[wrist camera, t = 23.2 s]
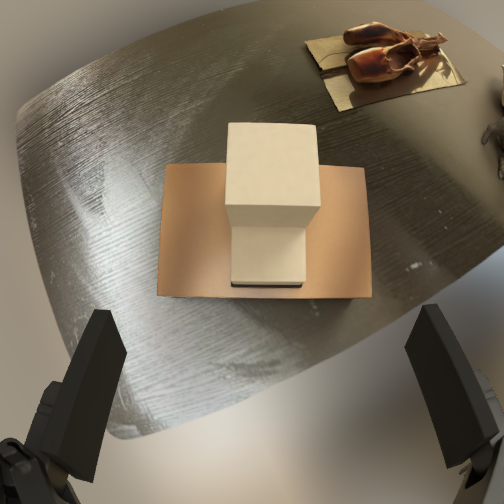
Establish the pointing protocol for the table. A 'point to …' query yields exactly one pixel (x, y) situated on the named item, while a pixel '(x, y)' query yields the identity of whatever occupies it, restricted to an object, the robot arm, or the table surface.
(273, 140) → the beige block black base
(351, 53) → the ballet pointe shoes
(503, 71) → the bowl
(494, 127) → the dog figurine
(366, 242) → the shoe shelf
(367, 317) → the table surface
